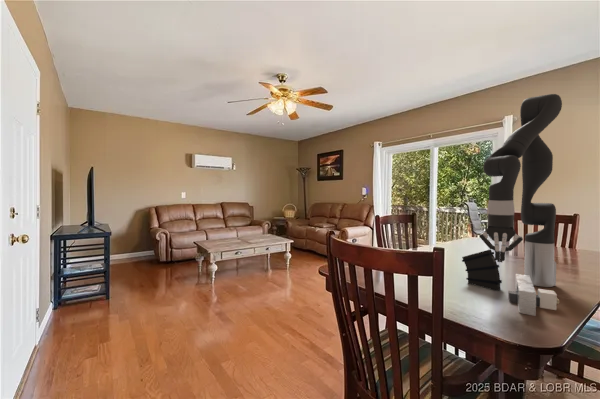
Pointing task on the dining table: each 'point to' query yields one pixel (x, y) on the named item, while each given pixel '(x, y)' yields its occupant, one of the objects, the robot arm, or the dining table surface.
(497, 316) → the dining table surface
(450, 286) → the dining table surface
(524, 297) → the housing
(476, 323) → the dining table surface
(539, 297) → the plug
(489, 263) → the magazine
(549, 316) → the dining table surface
